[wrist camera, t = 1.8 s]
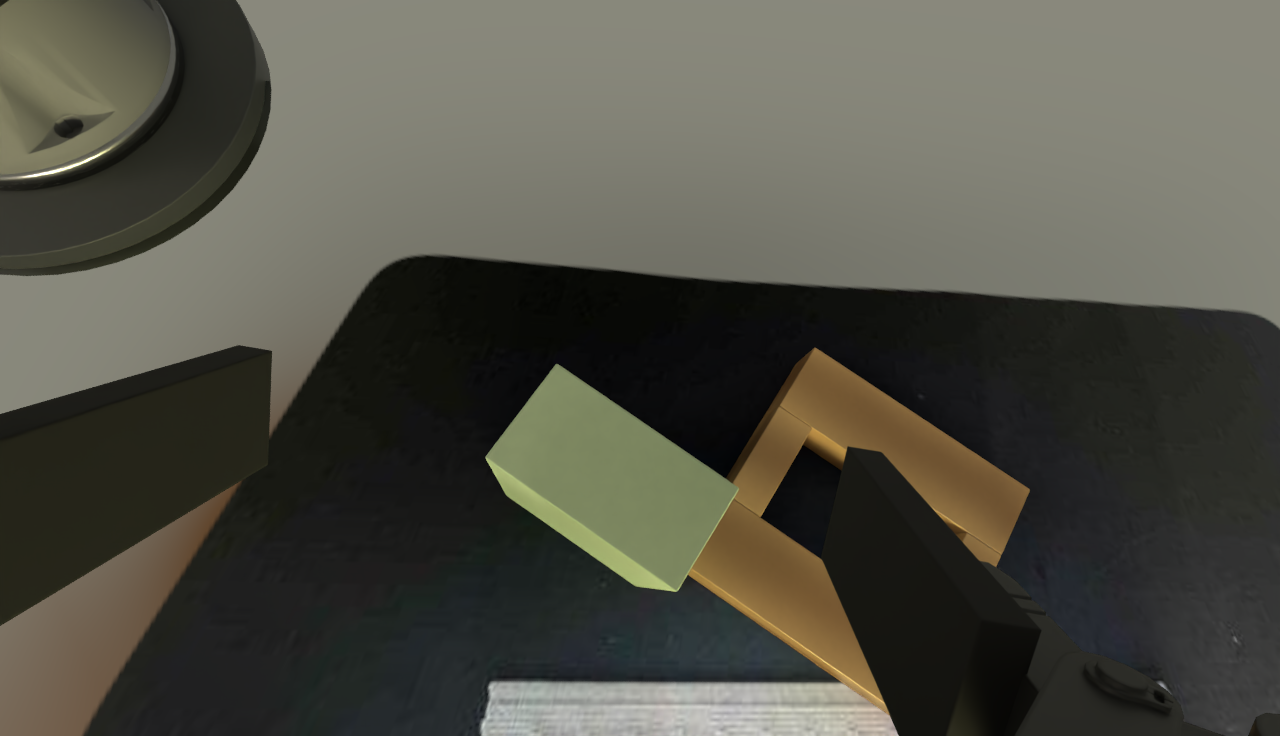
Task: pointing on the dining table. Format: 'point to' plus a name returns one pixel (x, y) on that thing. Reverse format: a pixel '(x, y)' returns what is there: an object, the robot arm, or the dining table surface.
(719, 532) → the mount block
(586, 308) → the dining table surface
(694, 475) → the pale green block
